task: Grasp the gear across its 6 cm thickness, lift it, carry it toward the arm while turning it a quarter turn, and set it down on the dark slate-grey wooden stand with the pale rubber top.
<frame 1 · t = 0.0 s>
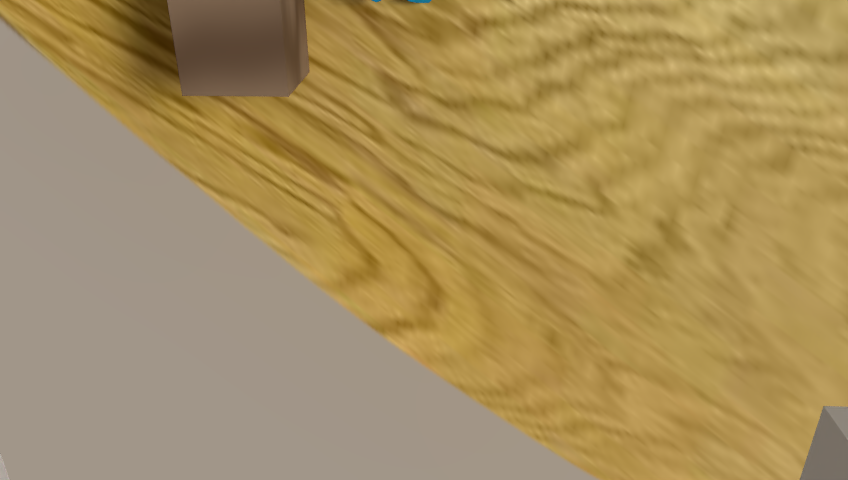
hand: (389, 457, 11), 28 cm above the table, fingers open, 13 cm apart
walnut block: (257, 22, 36), on the table
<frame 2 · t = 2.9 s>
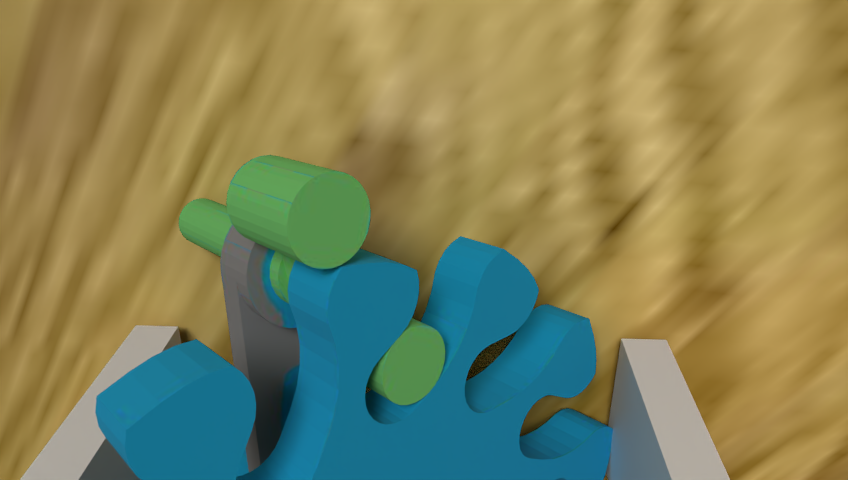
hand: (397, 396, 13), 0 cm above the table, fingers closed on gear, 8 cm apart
gear: (393, 378, 13), on the table, touching gripper
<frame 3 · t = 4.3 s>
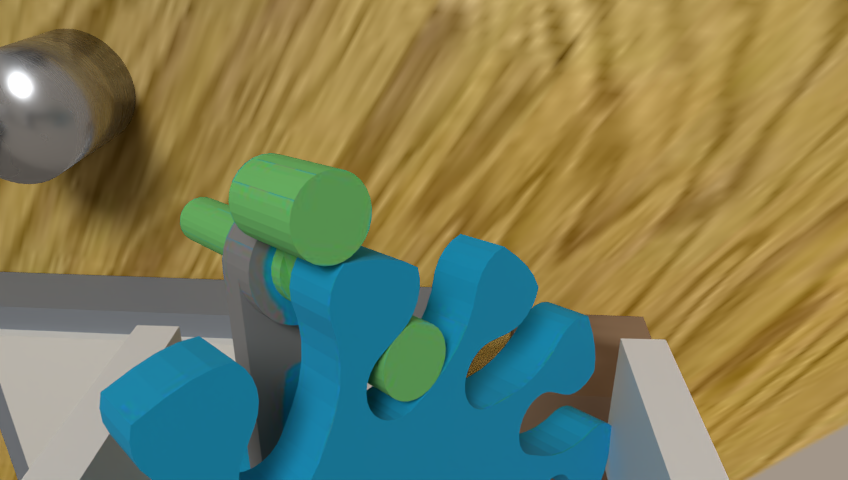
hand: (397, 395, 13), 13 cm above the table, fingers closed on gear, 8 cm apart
stand: (238, 410, 30), on the table
steel cylinder: (78, 87, 24), on the table
walnut block: (570, 365, 28), on the table
gear: (393, 376, 13), point 13 cm above the table, touching gripper
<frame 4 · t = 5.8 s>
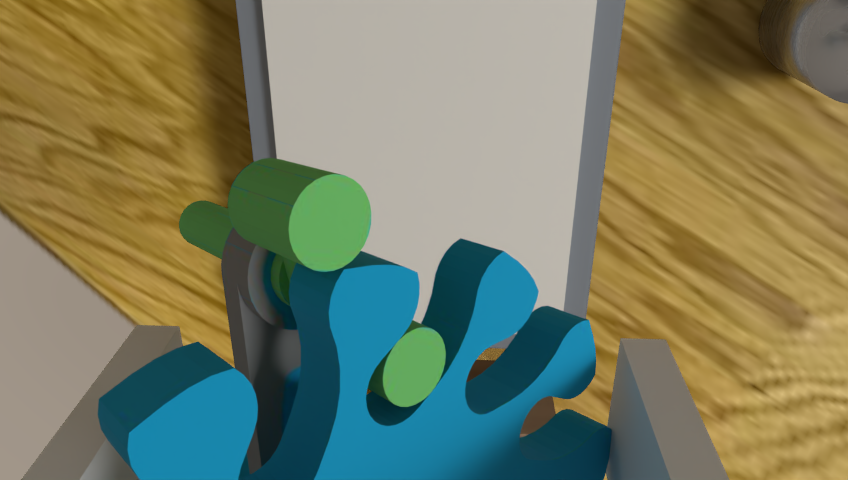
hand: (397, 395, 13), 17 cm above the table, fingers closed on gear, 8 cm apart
stand: (430, 121, 28), on the table
steel cylinder: (815, 20, 25), on the table
walnut block: (489, 401, 34), on the table
gear: (393, 379, 13), point 16 cm above the table, touching gripper
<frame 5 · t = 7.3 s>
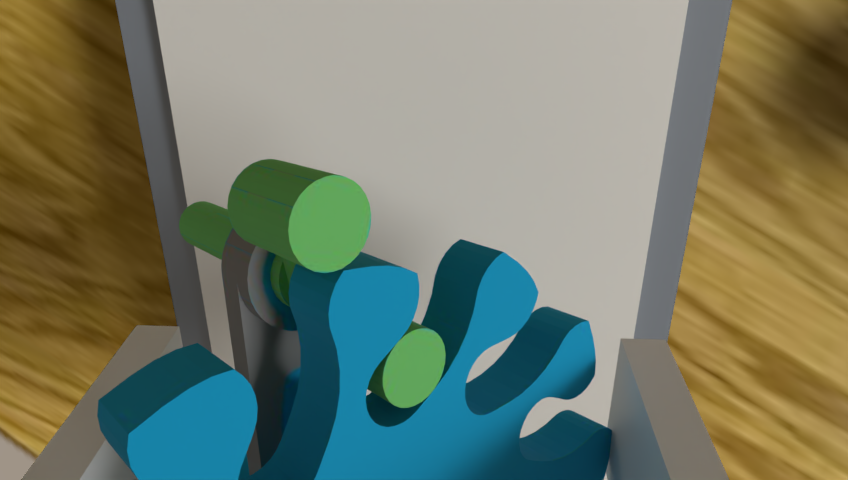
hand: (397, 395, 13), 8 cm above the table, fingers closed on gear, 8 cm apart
stand: (423, 207, 20), on the table
gear: (393, 380, 13), point 7 cm above the table, touching gripper
when the fingers open (5 cm above the table, at t = 8.4 s): gear drops 1 cm, resting on stand.
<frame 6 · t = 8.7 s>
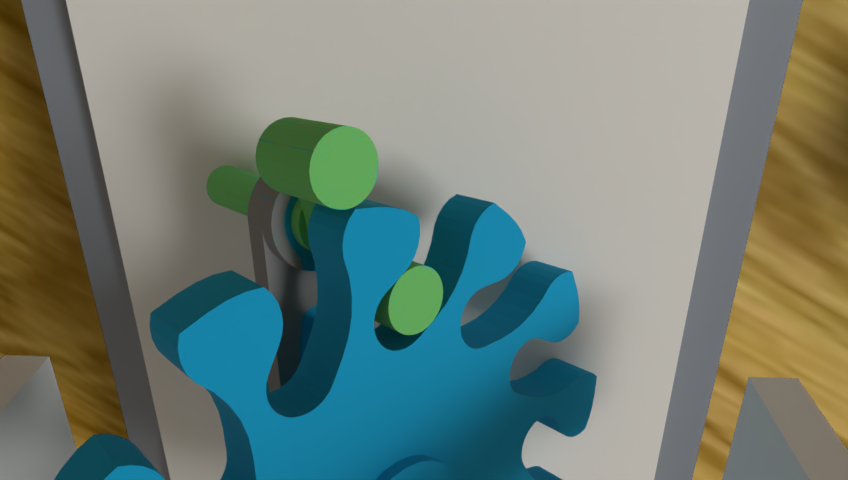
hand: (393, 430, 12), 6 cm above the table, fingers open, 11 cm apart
stand: (413, 270, 17), on the table
gear: (397, 332, 14), point 3 cm above the table, touching stand
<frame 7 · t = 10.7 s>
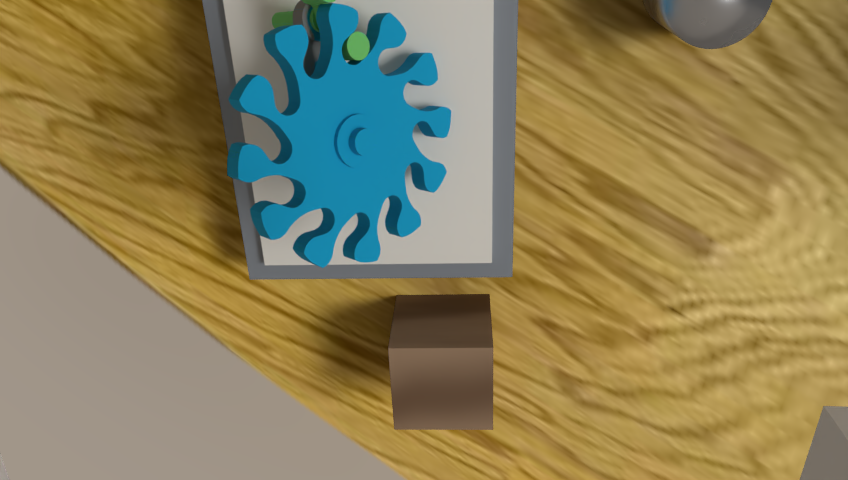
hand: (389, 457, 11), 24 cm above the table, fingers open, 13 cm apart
stand: (372, 84, 33), on the table
walnut block: (444, 332, 39), on the table
gear: (360, 98, 30), point 3 cm above the table, touching stand
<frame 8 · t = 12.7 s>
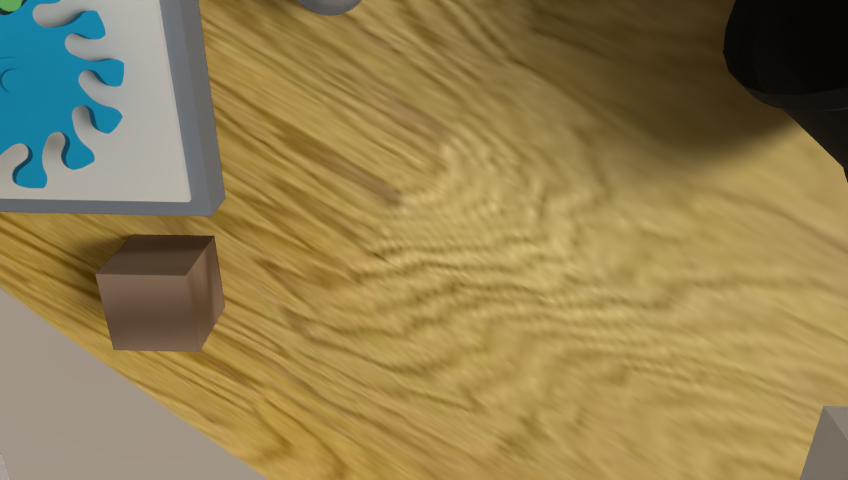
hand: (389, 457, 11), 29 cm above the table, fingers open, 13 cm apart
stand: (83, 40, 37), on the table
walnut block: (180, 270, 43), on the table
gear: (51, 50, 35), point 3 cm above the table, touching stand
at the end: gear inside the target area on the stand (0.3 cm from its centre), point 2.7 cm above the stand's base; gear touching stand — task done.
